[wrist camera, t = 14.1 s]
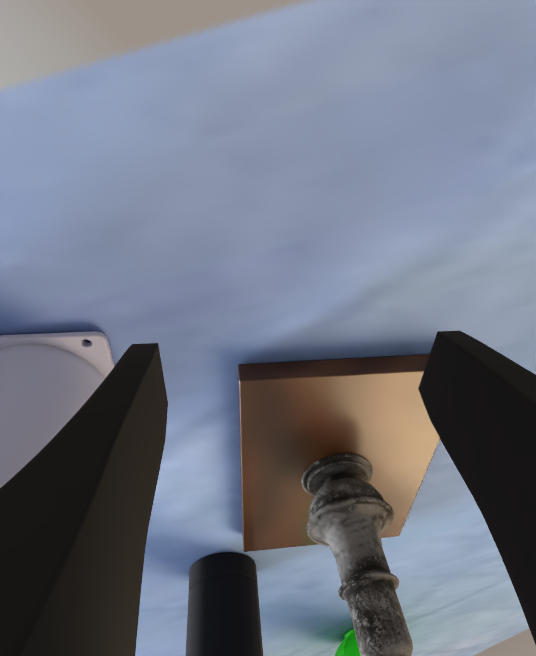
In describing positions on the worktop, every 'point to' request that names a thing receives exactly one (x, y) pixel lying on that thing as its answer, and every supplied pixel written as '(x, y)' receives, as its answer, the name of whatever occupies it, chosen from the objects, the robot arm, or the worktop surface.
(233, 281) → the worktop surface
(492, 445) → the robot arm
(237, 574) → the black bottle
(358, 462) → the grey stone baluster
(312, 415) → the cutting board
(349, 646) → the plastic bottle
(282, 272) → the worktop surface
